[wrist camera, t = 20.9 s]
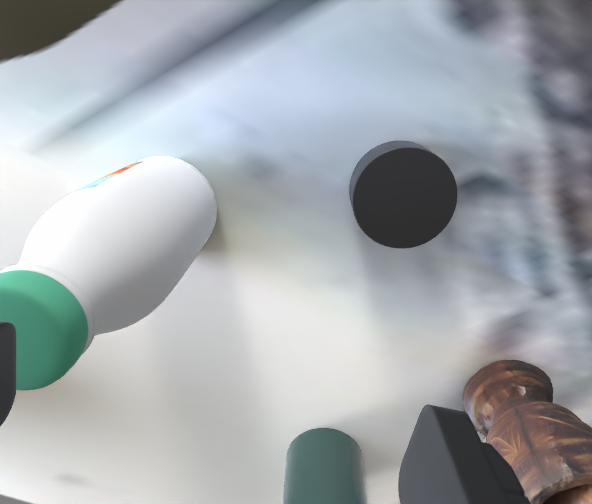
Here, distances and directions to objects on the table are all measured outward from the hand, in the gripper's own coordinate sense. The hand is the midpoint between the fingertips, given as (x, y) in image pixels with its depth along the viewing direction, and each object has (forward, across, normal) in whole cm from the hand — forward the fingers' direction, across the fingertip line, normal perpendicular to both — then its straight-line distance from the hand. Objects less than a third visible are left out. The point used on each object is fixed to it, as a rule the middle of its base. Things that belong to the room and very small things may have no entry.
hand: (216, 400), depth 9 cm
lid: (+27, -9, 0) cm, 28 cm away
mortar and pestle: (+27, -22, +14) cm, 37 cm away
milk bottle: (+27, +8, +5) cm, 29 cm away
